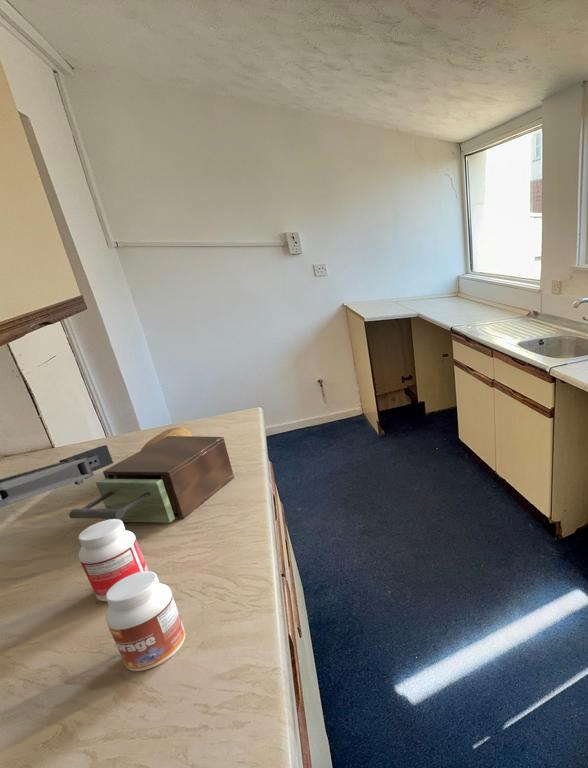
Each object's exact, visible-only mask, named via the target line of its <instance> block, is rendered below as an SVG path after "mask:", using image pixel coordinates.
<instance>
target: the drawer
mask: <svg viewBox="0 0 588 768" xmlns="http://www.w3.org/2000/svg"><path fill="white" fill-rule="evenodd" d="M113 477H114V479H105V478H100V479H99V480H96V481H95V484H96V487H97V490H98V491H99V494H100V496H99V497H98V498H96V499H95V500H94V499H93V500H92V501H91V502H89V503H88V504H86V505H84V506H83V507H81V508H73V509H72V510H70V512H69V513H68V517H69V518H70V519H76V520H77V519H80V520H81V519H83V520H86V519H87V520H110V519H119V520H121V521H122V522H123V523H172V522H173V521H174V520H176V519H175V516H174V513H177V512H178V511H177V508H176V505H175V502H174V499H173V496H172V493H171V490H170V487H169V484H168V481H167V478H166V476H159V475H113ZM101 502H103V504H104V507H105V508H93V507H95V506H96V505H98V504H100V503H101Z"/></svg>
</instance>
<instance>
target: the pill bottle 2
mask: <svg viewBox="0 0 588 768" xmlns="http://www.w3.org/2000/svg"><path fill="white" fill-rule="evenodd" d="M106 600H107V601H106V603H107V605H108V609H107V611H106V614H105V622H106V624H107V627H108V629H109V632H110V634H111V636H112V638H113V641H114V643H115V646H116V648H117V650H118V652H119V655H120V657H121V660H122V661H123V664H124V666H125V667H126V669H128V670H130V671H132V672H142V671H145V670H149V669H152V668H155V667H157V666H159V665H161V664H163V663H164V662H166V661H168V660H169V659H170V658H171V657H172V656H174V655H175V654H176V653H177V652H178V651H179V649H180V648H181V647H182V645H183V643H184V642H185V639H186V631H185V627H184V623H183V621H182V619H181V616H180V612H179V610H178V608H177V604H176V601H175V599H174V596H173V592H172V590H171V588H170V587H169V586H168V585H166V584H164V583H160V580H159V578H158V576H157V574H156V573H155V572H153V571H151V570H149V571H143V572H138V573H135V574H132V575H129V576H127V577H125V578H123V579H122V580H120V581H118V582H117V583H115V584H114V585H113V586H112V587H111V588H110V589H109V590H108V592H107V594H106Z"/></svg>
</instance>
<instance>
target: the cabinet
mask: <svg viewBox="0 0 588 768" xmlns="http://www.w3.org/2000/svg"><path fill="white" fill-rule="evenodd" d="M102 473H103V476H104V479H114V477H113V475H159V476H166V478H167V481H168V484H169V487H170V490H171V493H172V496H173V499H174V502H175V505H176V508H177V511H178V512H177V513H174V516H175V519H174V520H184V519H186V518H187V517H188V516H190V515H191V514H192V513H193V512H194V511H196V510H197V509H198V508H199V507H200V506H202V505H203V504H204V503H205V502H207V501H208V500H209V499H210V498H212V497H213V496H214V495H215V494H217V493H218V492H219V491H220V490H221V489H222V488H224V487H225V486H226V485H228V483H230V482H231V481H232V480H234V478H235V475H234V472H233V468H232V464H231V460H230V457H229V453H228V448H227V445H226V441H225V438H224V436H202V435H201V436H198V435H197V436H196V435H195V436H193V435H192V436H167V437H165V438H163V439H161V440H160V441H158V442H156V443H154V444H152V445H150V446H149V447H147V448H145V449H143V450H141V449H140V450H139V451H137V452H136V453H134V454H132V455H130V456H128V457H127V458H124V459H123V460H121V461H119V462H117V463H115V464H113V465H112V466H110V467H108V468H106V469H104V470H103V471H102Z"/></svg>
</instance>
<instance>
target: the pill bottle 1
mask: <svg viewBox="0 0 588 768" xmlns="http://www.w3.org/2000/svg"><path fill="white" fill-rule="evenodd" d="M78 540H79V543H80V545H81V548H80V549H79V551H78V560H79V562H80V564H81V567H82V568H83V571H84V573H85V575H86V577H87V579H88V582H89V584H90V587H91V588H92V590H93V593H94V595H95V596H96V599H98V600H99V601H102V602H107V600H106V594H107V592H108V590H109V589H110V588H111V587H112V586H113V585H114V584H115V583H117V582H118V581H120V580H122V579H123V578H125V577H127V576H129V575H132V574H135V573H138V572H143V571H150V570H149V568H148V566H147V563H146V560H145V557H144V556H143V553H142V550H141V547H140V545H139V542H138V540H137V537H136V535H135V533H133V532H132V531H130V530H126V527H125V524H124V522H122V521H121V520H119V519H104V520H102V521H99V522H96V523H94V524H91V525H90V526H88V527H86V528H85V529H83V530H82V531H81V532H80V533H79V535H78Z"/></svg>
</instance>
